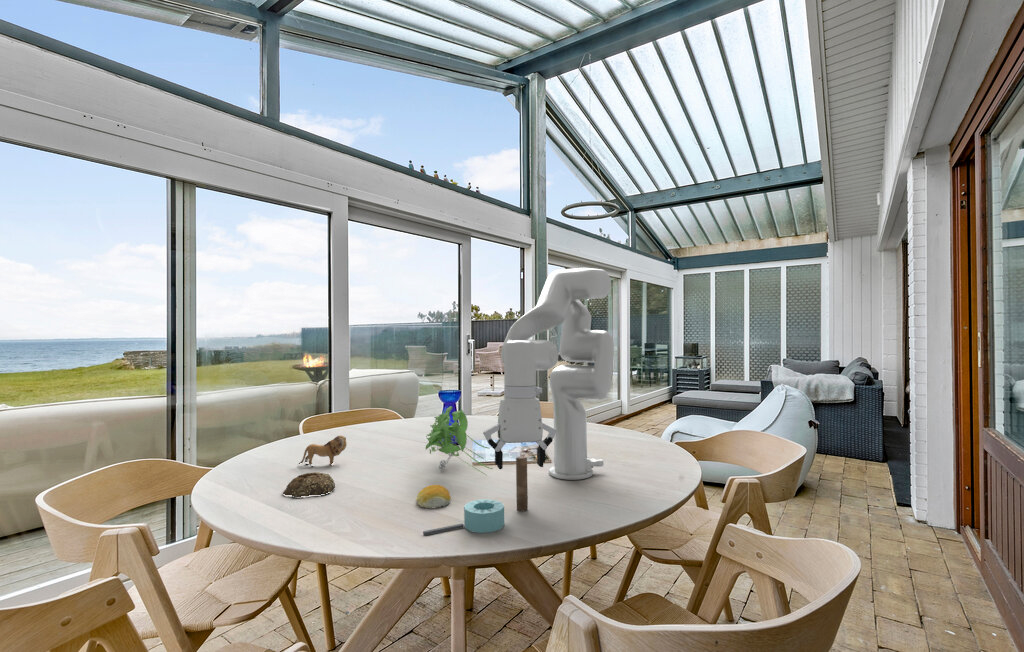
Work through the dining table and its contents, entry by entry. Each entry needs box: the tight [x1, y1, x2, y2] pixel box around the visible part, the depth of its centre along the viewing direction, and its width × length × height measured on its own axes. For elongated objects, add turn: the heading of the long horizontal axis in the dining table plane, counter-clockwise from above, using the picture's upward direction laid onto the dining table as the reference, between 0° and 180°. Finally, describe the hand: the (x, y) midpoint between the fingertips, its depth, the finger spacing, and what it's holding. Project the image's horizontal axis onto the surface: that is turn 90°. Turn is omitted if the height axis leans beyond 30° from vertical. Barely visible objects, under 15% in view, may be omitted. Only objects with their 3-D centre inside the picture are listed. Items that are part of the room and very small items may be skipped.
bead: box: [463, 498, 505, 534], centre depth 105 cm, size 8×8×4 cm
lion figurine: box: [298, 435, 348, 465], centre depth 155 cm, size 15×5×9 cm, turn 104°
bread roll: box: [416, 484, 452, 509], centre depth 120 cm, size 8×9×4 cm
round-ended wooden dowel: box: [515, 456, 529, 512], centre depth 114 cm, size 3×3×12 cm
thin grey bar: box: [422, 523, 465, 536], centre depth 102 cm, size 9×1×1 cm, turn 117°
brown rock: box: [282, 471, 336, 497], centre depth 130 cm, size 13×12×5 cm
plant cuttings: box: [425, 405, 494, 477], centre depth 148 cm, size 35×17×22 cm
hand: (520, 466), depth 114 cm, fingers open, 9 cm apart
